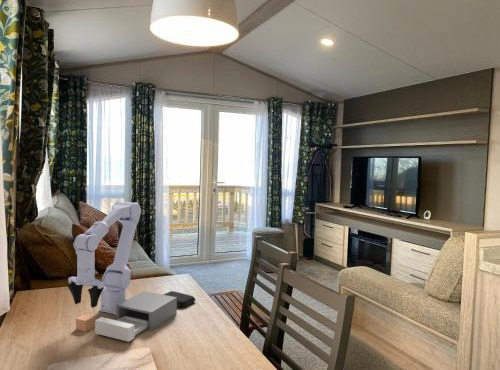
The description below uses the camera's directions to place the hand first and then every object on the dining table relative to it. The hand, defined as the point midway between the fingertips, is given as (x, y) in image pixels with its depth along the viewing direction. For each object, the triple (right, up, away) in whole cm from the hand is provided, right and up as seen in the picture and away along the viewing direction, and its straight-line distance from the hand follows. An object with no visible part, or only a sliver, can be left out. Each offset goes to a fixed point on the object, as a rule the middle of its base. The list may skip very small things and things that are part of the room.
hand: (85, 304), depth 136 cm
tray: (+15, -8, -2) cm, 17 cm away
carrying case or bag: (+27, -8, +26) cm, 39 cm away
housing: (+19, -8, +10) cm, 23 cm away
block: (0, -9, +1) cm, 9 cm away
